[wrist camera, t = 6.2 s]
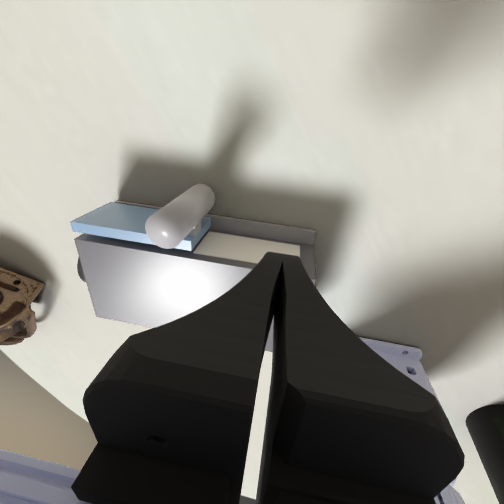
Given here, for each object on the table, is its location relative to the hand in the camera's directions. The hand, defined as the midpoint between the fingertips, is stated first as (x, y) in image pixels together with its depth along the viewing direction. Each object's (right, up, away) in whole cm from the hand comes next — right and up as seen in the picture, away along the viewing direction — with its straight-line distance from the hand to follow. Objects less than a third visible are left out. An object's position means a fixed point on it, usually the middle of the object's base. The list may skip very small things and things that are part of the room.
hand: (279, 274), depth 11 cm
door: (-8, +5, +9) cm, 13 cm away
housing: (-5, 0, +12) cm, 13 cm away
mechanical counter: (-29, -4, +19) cm, 35 cm away
